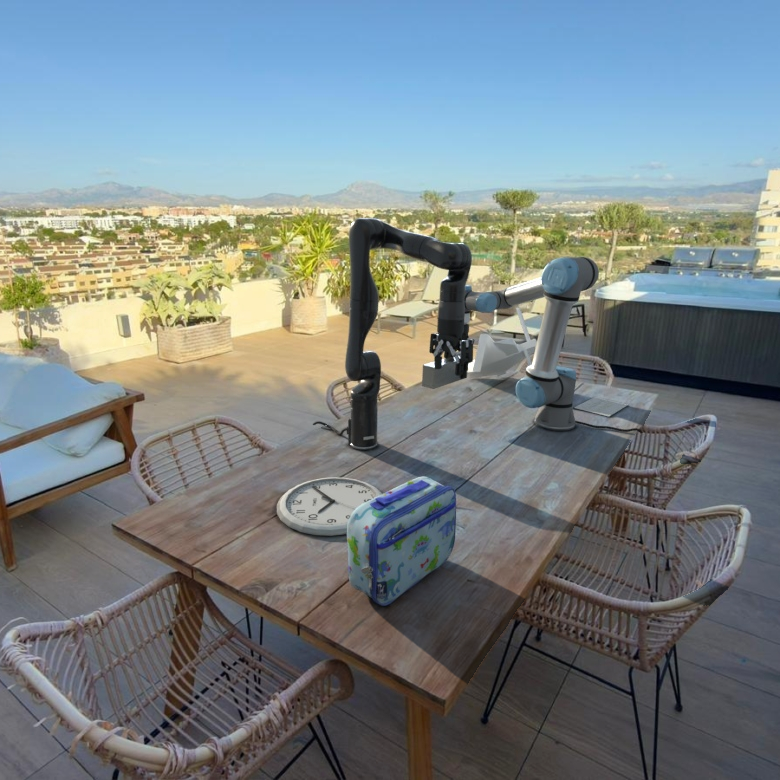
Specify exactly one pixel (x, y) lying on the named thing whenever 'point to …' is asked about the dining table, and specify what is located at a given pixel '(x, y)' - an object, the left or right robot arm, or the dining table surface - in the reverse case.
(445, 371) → the box
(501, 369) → the white plastic object
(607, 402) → the invitation card
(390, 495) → the lunch box
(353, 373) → the left robot arm
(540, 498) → the dining table surface
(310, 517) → the wall clock
